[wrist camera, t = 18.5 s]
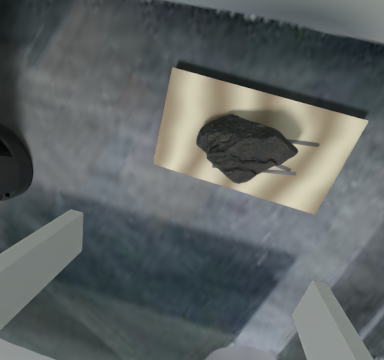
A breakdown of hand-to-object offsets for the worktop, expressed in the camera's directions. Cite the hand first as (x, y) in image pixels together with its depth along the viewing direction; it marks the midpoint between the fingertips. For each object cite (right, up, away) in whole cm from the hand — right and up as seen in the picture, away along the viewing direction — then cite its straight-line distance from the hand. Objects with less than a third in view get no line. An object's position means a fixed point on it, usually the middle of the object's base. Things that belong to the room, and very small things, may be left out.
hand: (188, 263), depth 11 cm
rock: (+7, +9, +17) cm, 21 cm away
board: (+8, +10, +18) cm, 22 cm away
